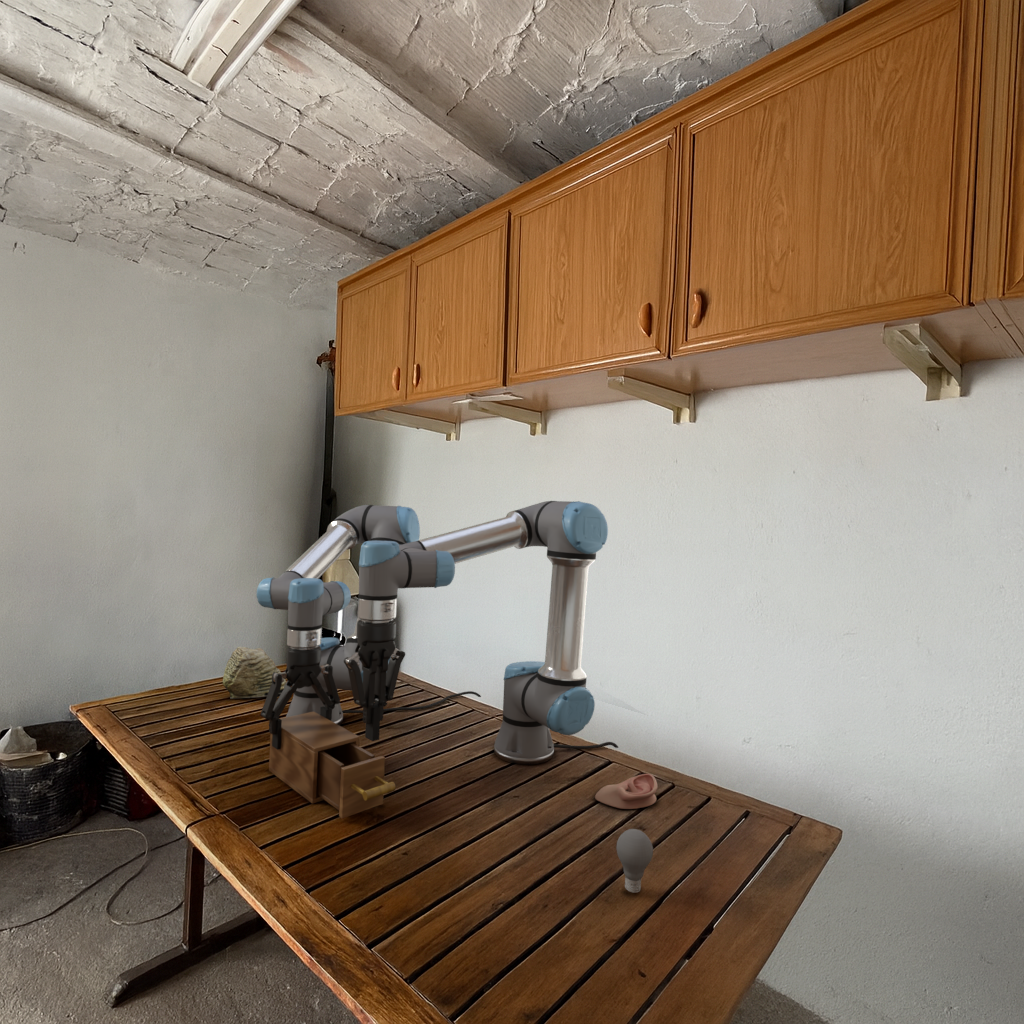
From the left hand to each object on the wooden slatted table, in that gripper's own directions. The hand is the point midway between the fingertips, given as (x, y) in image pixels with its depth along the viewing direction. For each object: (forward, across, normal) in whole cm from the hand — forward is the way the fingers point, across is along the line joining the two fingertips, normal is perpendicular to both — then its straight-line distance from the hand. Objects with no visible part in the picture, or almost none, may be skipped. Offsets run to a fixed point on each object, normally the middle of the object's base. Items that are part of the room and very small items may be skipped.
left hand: (300, 741), depth 146 cm
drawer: (+6, 0, -20) cm, 21 cm away
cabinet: (+7, 0, -6) cm, 9 cm away
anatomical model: (+7, +48, -57) cm, 75 cm away
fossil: (+7, +15, +59) cm, 61 cm away
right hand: (-9, 0, -29) cm, 31 cm away
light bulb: (+7, +20, -77) cm, 80 cm away
